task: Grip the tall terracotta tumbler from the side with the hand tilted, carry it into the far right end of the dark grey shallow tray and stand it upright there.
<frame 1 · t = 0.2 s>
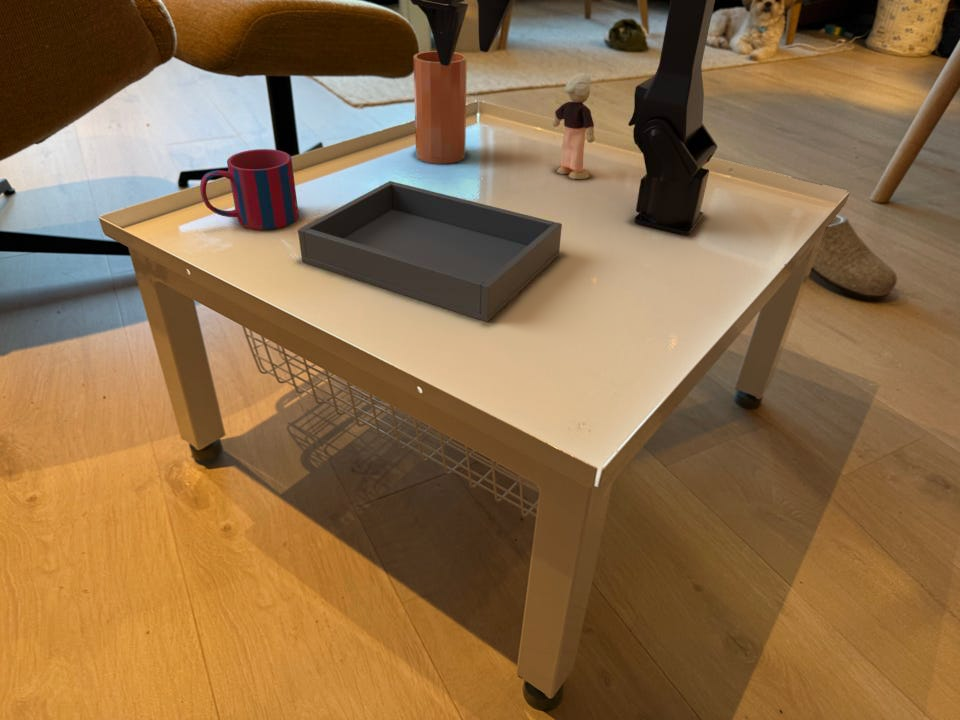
hand: (465, 58, 84), 14 cm above the table, tool pointing down, fingers open, 9 cm apart
dark grey shallow tray: (432, 258, 72), on the table
tumbler: (440, 155, 98), on the table
mug: (254, 222, 79), on the table
grandmother figurine: (569, 174, 94), on the table
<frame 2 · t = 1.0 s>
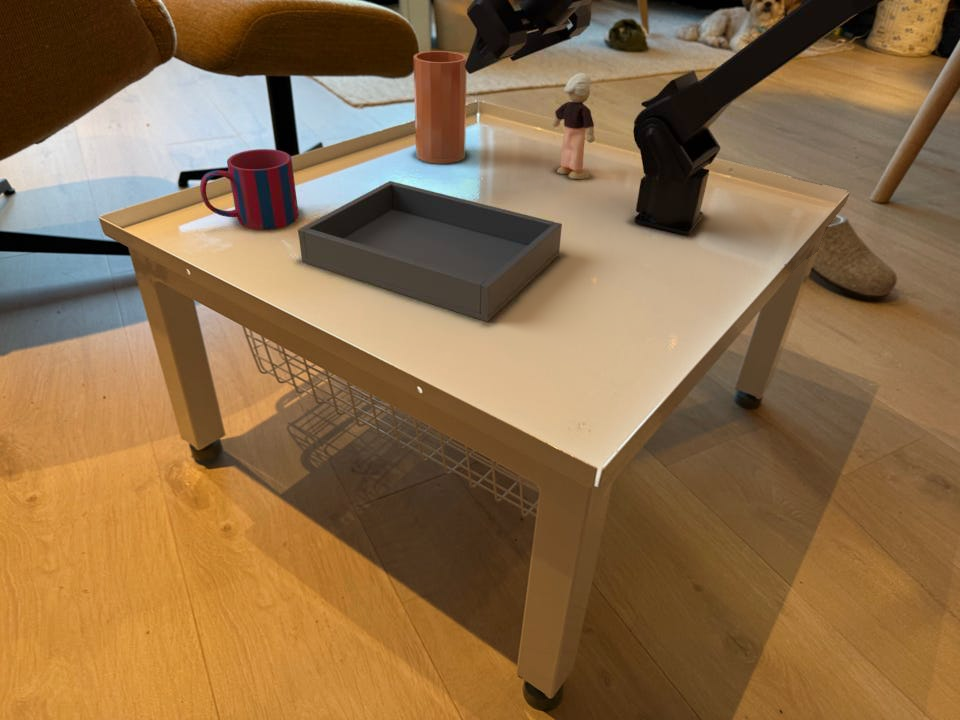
hand: (489, 63, 86), 13 cm above the table, tool tilted 45°, fingers open, 9 cm apart
nothing on the table moved.
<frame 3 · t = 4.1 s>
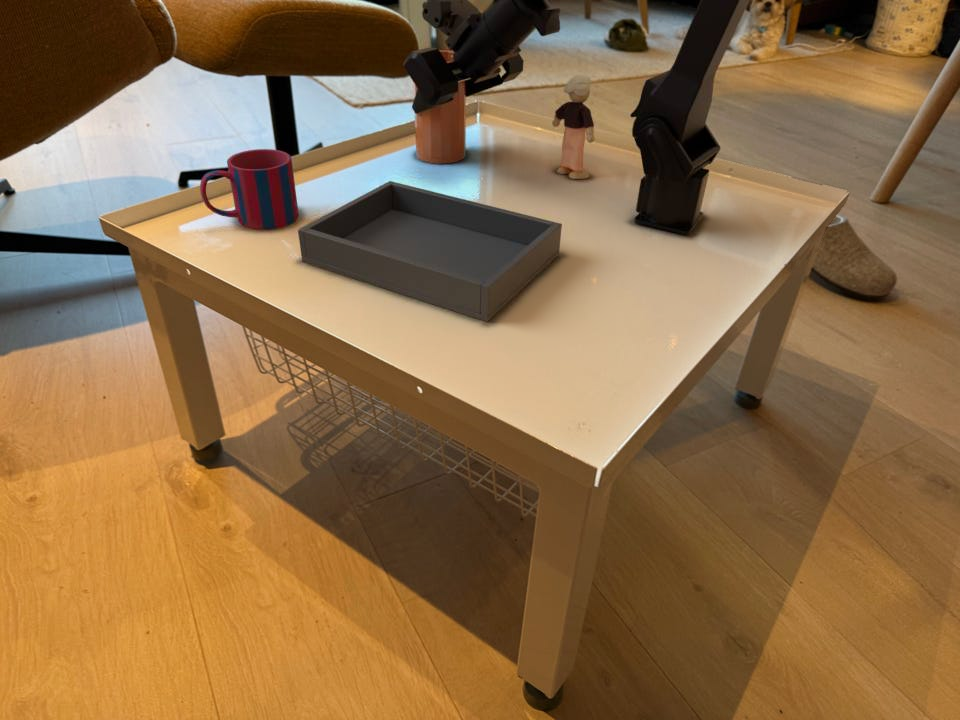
hand: (432, 104, 94), 7 cm above the table, tool tilted 45°, fingers closed on tumbler, 7 cm apart
tumbler: (440, 155, 98), on the table, touching gripper
everything else where it was.
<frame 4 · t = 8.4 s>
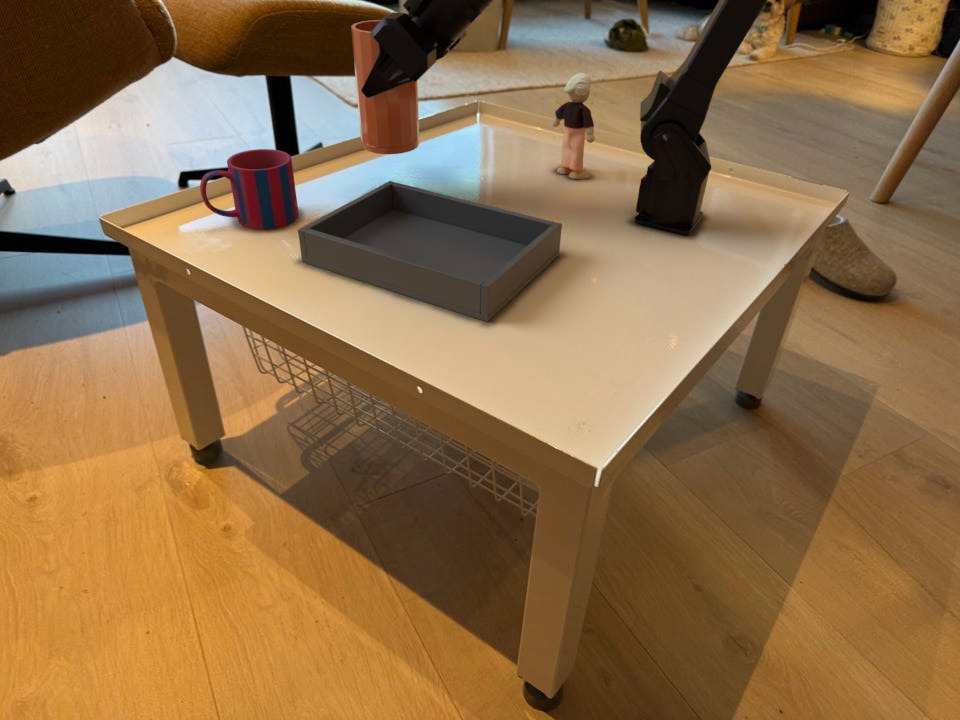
hand: (375, 86, 80), 12 cm above the table, tool tilted 45°, fingers closed on tumbler, 7 cm apart
tumbler: (390, 144, 83), point 6 cm above the table, touching gripper
everything else where it was.
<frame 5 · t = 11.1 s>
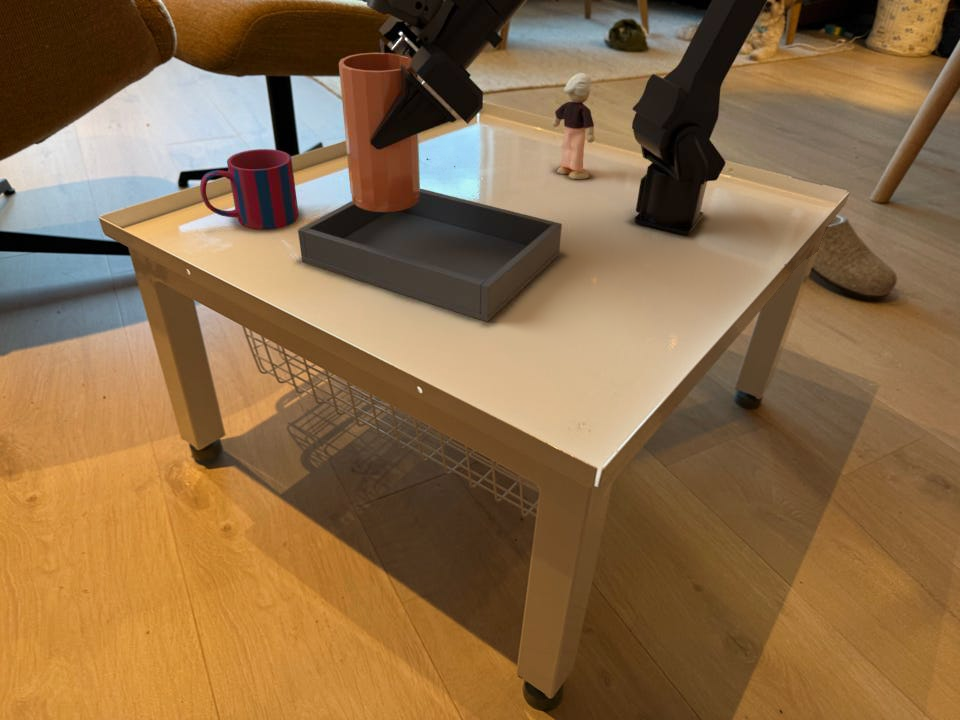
hand: (367, 133, 66), 12 cm above the table, tool tilted 45°, fingers closed on tumbler, 7 cm apart
tumbler: (386, 198, 70), point 6 cm above the table, touching gripper
everything else where it was.
when the fingers open (7 cm above the table, at t = 13.2 s): tumbler stays where it is, resting on dark grey shallow tray.
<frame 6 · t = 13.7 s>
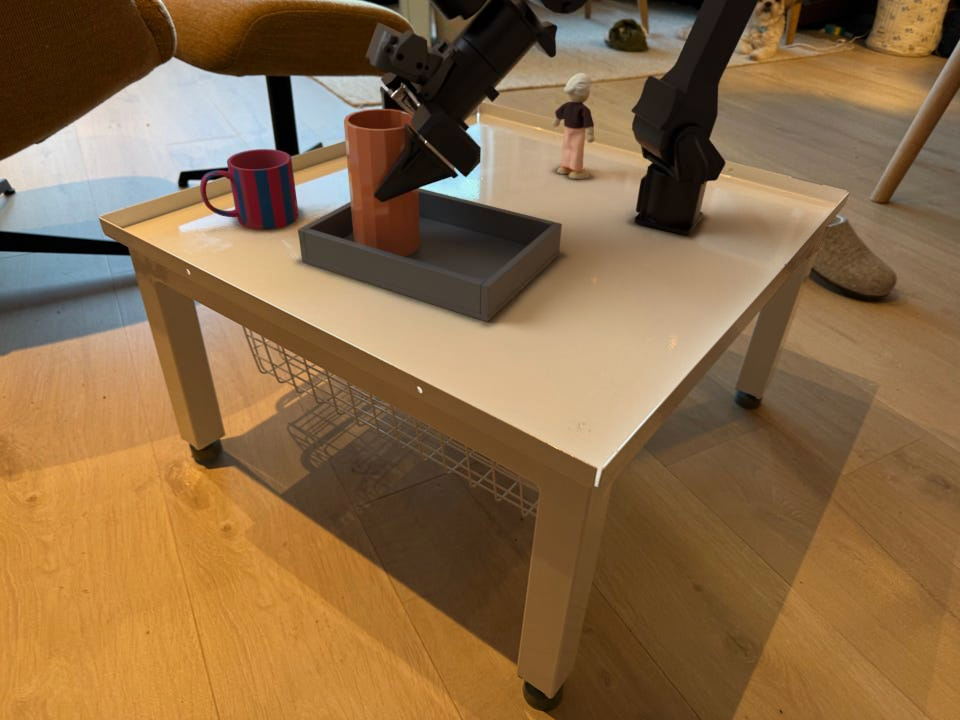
hand: (369, 181, 69), 8 cm above the table, tool tilted 45°, fingers open, 9 cm apart
tumbler: (387, 244, 73), point 1 cm above the table, touching dark grey shallow tray
everything else where it was.
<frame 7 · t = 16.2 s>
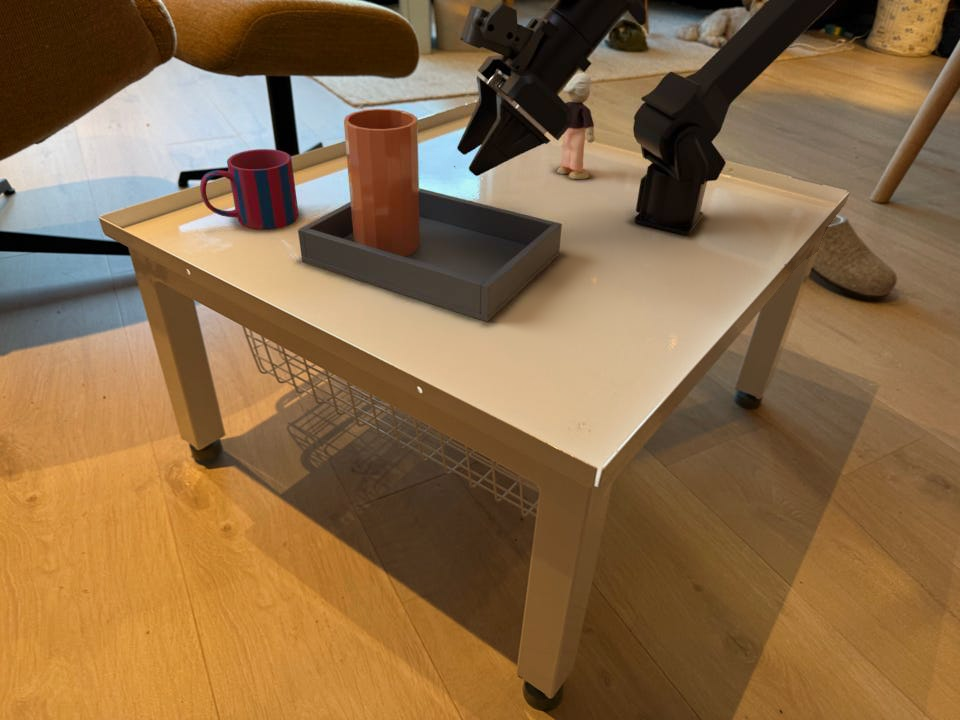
hand: (466, 161, 70), 9 cm above the table, tool tilted 40°, fingers open, 9 cm apart
nothing on the table moved.
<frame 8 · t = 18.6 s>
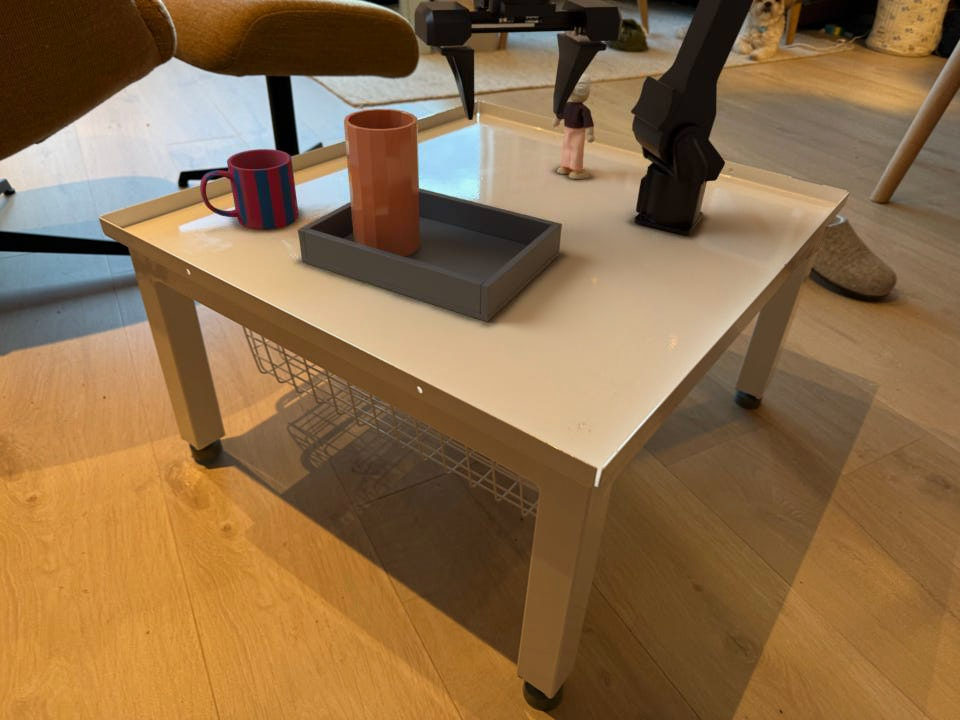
hand: (513, 116, 69), 13 cm above the table, tool pointing down, fingers open, 9 cm apart
nothing on the table moved.
at the end: tumbler inside the target area in the dark grey shallow tray (0.6 cm from its centre), point 0.6 cm above the dark grey shallow tray's base; tumbler tilted 0°; the gripper is holding nothing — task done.
